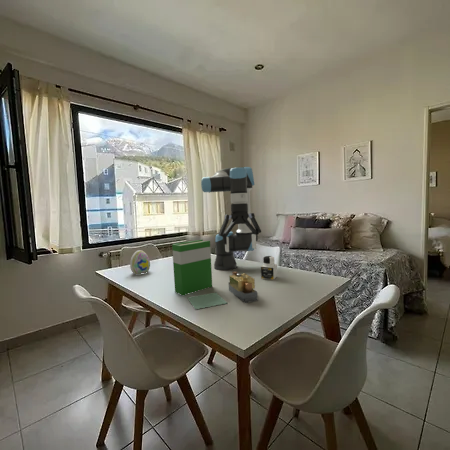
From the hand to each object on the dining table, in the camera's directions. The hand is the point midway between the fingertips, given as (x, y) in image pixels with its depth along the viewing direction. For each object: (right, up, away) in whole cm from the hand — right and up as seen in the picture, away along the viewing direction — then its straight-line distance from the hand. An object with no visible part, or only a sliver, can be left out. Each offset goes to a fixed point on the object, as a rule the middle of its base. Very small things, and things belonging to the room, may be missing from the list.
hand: (241, 250), depth 115 cm
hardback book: (-23, -21, +14) cm, 34 cm away
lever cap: (+1, -17, +2) cm, 17 cm away
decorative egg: (-62, -20, +49) cm, 81 cm away
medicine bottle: (+18, -18, +28) cm, 37 cm away
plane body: (+1, -21, +3) cm, 21 cm away
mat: (-15, -22, -3) cm, 27 cm away
